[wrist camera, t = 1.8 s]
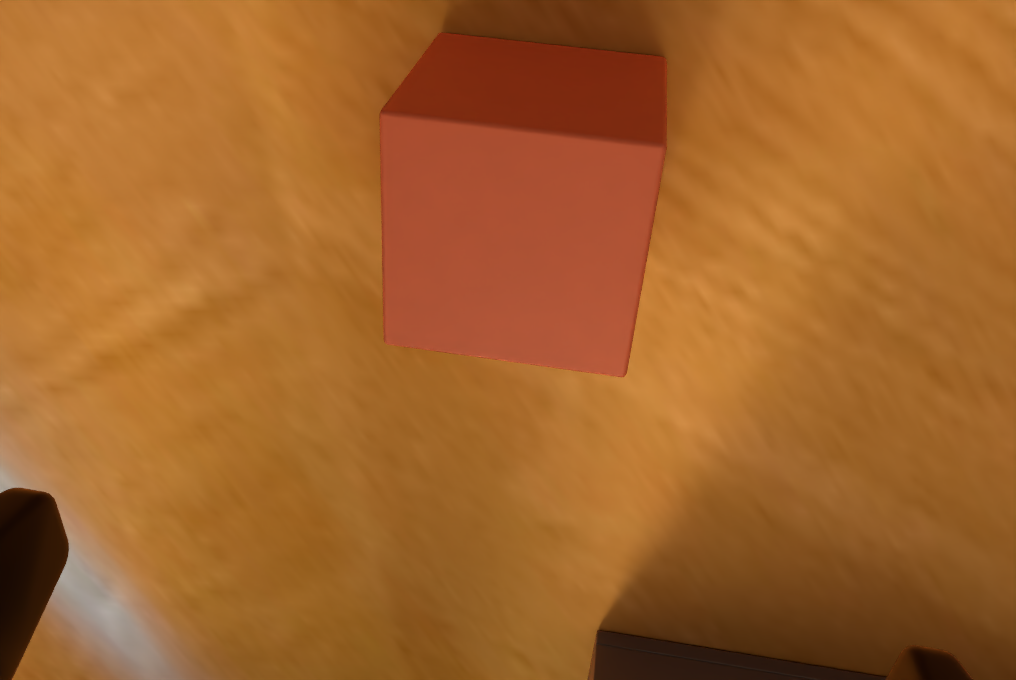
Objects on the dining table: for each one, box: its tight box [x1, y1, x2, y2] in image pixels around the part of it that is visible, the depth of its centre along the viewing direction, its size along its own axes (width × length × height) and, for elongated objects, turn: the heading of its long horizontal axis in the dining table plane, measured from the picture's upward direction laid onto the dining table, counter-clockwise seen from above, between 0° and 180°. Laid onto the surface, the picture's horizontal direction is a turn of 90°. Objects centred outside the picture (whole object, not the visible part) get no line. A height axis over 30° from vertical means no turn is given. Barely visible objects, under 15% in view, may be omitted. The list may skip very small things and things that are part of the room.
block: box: [380, 33, 667, 377], centre depth 17 cm, size 4×4×4 cm
